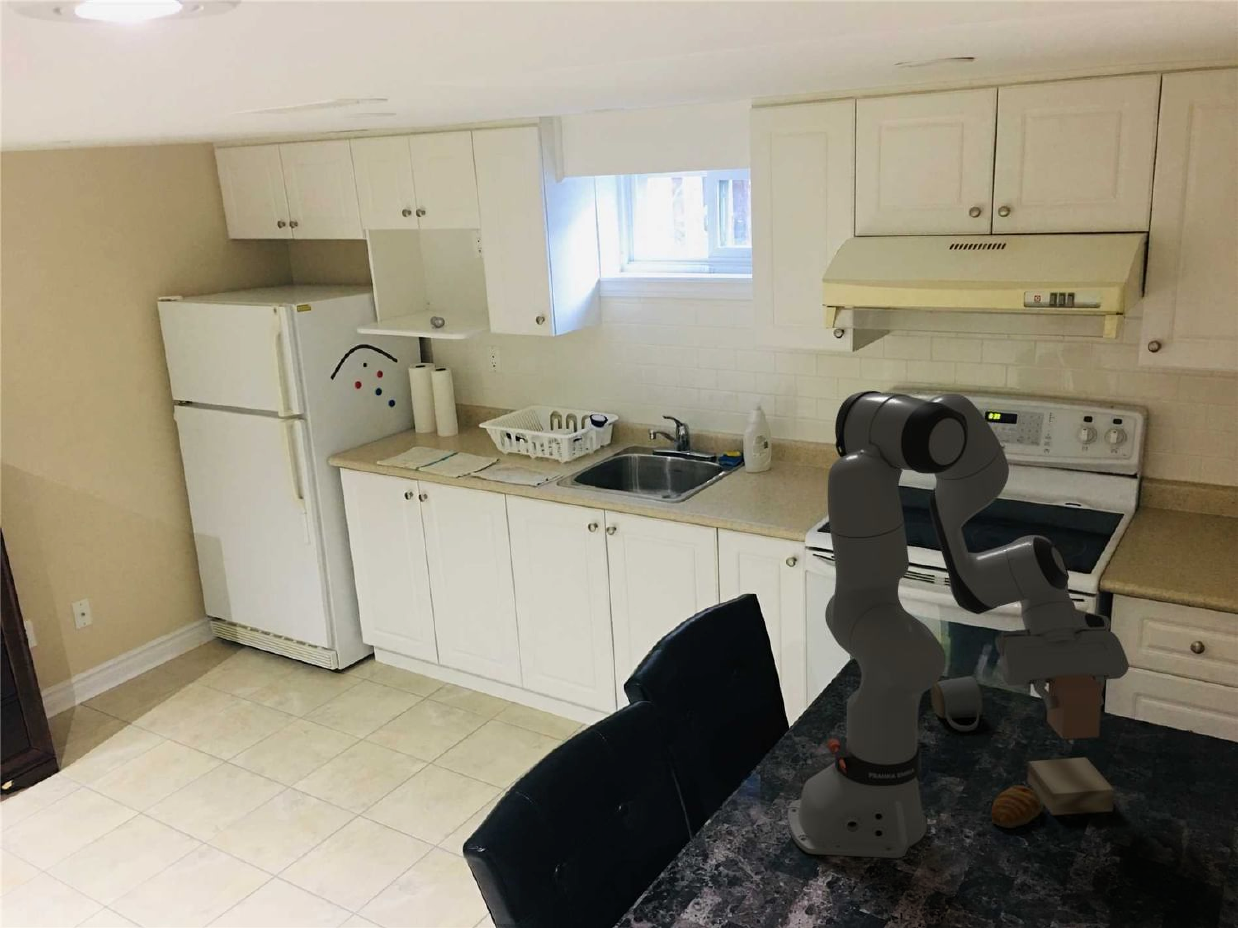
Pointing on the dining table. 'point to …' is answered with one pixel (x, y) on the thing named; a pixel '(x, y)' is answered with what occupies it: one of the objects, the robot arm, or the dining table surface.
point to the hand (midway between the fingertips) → (1075, 706)
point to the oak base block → (1070, 786)
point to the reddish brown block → (1075, 706)
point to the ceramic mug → (957, 700)
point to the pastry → (1015, 807)
